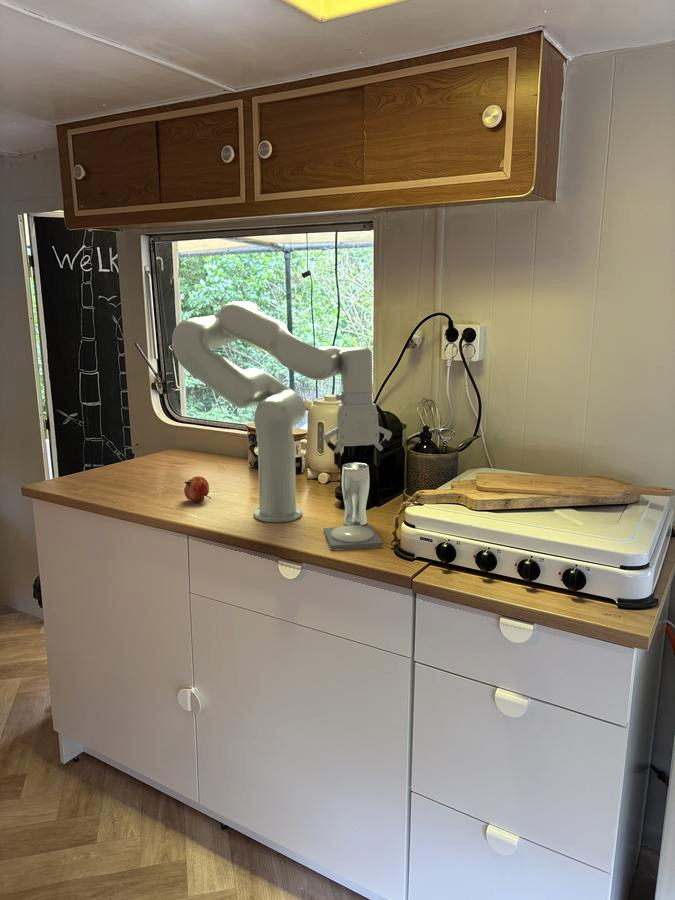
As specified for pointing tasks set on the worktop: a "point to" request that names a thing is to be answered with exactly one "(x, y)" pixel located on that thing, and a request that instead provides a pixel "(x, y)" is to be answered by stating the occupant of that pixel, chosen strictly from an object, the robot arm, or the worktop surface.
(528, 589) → the worktop surface
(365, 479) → the beer glass
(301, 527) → the worktop surface
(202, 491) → the pomegranate
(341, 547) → the coaster board
